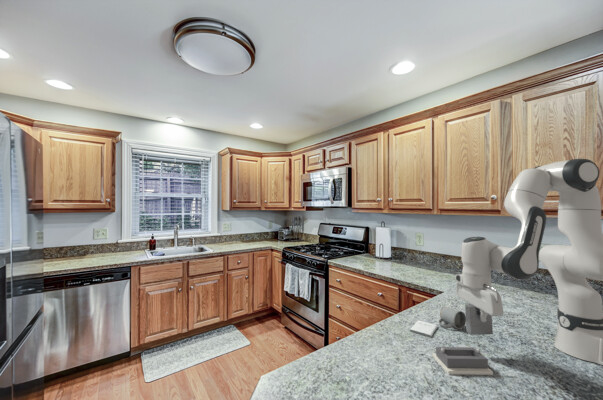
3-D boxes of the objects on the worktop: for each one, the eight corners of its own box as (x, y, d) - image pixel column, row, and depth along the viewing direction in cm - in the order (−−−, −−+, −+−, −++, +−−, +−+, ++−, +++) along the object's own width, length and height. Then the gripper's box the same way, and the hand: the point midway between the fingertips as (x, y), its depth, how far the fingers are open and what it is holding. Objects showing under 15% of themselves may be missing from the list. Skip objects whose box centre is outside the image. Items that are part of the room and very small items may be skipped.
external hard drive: (410, 333, 109) (417, 323, 118) (430, 339, 103) (437, 328, 113) (409, 329, 109) (417, 319, 118) (430, 335, 103) (437, 324, 113)
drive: (487, 331, 94) (486, 304, 95) (492, 334, 92) (491, 306, 92) (466, 331, 94) (465, 304, 95) (470, 334, 92) (469, 306, 92)
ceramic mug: (449, 320, 120) (449, 304, 121) (466, 327, 113) (466, 310, 113) (433, 324, 116) (433, 307, 117) (450, 332, 109) (449, 314, 109)
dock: (471, 356, 90) (471, 341, 90) (493, 374, 80) (492, 358, 80) (432, 356, 90) (432, 341, 90) (448, 374, 80) (448, 357, 80)
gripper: (507, 289, 84) (510, 331, 83) (467, 274, 104) (469, 308, 103) (488, 289, 84) (491, 332, 83) (452, 274, 104) (454, 308, 103)
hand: (478, 318), depth 93 cm, fingers closed on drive, 2 cm apart
